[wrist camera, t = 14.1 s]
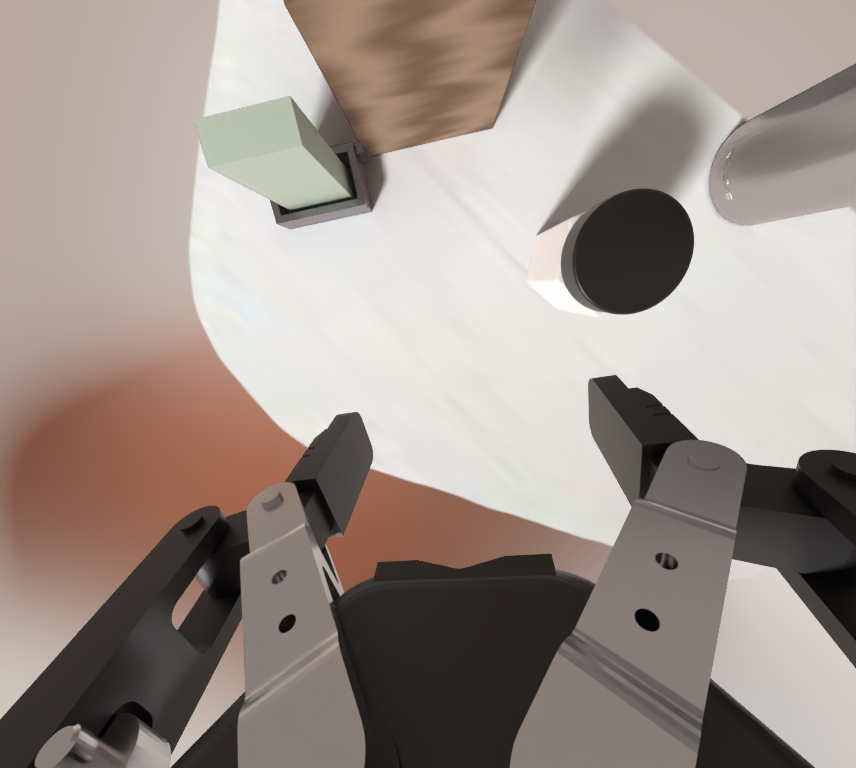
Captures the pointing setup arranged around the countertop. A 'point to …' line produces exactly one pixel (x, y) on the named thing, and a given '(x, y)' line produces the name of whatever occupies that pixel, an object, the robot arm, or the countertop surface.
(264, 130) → the sage green block
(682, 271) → the jar
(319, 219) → the dark grey rectangular frame
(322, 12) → the cabinet
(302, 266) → the countertop surface
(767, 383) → the countertop surface
